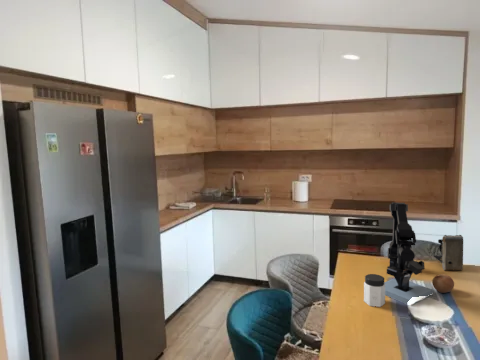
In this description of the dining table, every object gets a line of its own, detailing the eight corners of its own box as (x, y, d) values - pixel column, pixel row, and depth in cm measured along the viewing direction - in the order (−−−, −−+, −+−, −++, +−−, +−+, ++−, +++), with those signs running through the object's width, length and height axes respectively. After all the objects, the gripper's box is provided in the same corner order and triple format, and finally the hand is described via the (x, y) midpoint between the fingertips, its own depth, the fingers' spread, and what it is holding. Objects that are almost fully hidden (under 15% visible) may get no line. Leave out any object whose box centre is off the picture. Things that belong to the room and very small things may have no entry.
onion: (436, 298, 161) (428, 282, 159) (436, 286, 168) (428, 270, 167) (458, 296, 156) (450, 279, 154) (456, 283, 163) (449, 267, 161)
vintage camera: (449, 262, 198) (449, 228, 197) (463, 271, 183) (463, 235, 181) (431, 262, 199) (431, 229, 198) (444, 271, 184) (444, 236, 182)
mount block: (397, 281, 174) (397, 277, 174) (432, 294, 159) (432, 289, 159) (375, 291, 165) (375, 286, 164) (410, 305, 149) (410, 300, 149)
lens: (401, 287, 165) (402, 269, 164) (411, 290, 161) (411, 272, 160) (395, 289, 162) (396, 271, 161) (405, 293, 158) (405, 275, 157)
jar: (364, 305, 151) (364, 280, 150) (363, 297, 159) (363, 273, 157) (385, 308, 148) (386, 282, 147) (384, 299, 156) (384, 274, 155)
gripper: (408, 263, 148) (407, 297, 150) (432, 254, 157) (431, 286, 159) (386, 256, 157) (385, 288, 159) (409, 248, 167) (408, 278, 169)
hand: (403, 285), depth 161 cm, fingers closed on lens, 5 cm apart
